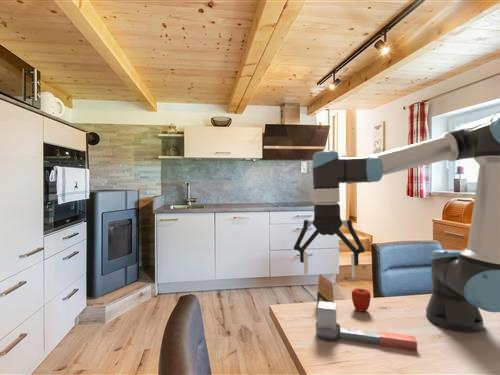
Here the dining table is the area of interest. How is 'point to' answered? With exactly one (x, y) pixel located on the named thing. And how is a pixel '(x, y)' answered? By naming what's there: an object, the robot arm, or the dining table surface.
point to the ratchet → (368, 337)
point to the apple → (361, 299)
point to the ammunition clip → (324, 290)
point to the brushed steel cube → (327, 315)
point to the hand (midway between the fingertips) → (329, 274)
